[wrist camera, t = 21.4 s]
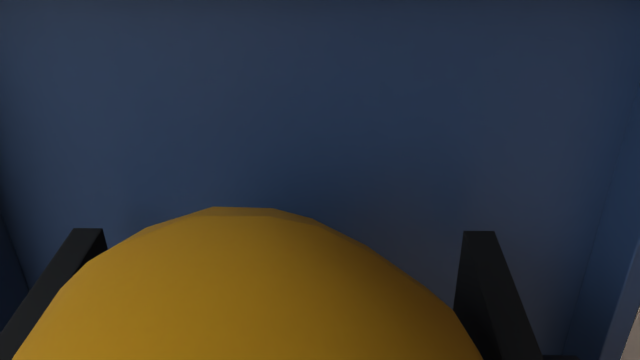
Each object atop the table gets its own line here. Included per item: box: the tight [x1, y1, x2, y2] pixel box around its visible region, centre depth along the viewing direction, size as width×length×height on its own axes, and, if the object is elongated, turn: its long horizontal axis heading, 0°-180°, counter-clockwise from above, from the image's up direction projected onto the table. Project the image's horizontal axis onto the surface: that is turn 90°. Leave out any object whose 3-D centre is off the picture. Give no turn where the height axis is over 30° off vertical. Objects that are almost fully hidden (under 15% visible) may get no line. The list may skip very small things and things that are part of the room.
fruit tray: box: [0, 0, 640, 360], centre depth 16 cm, size 18×16×3 cm
